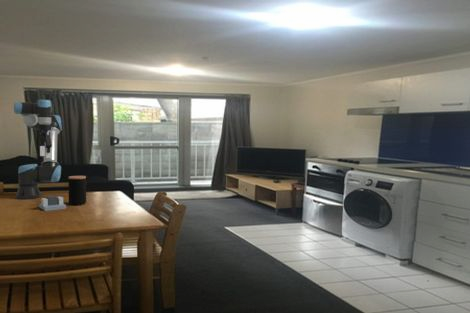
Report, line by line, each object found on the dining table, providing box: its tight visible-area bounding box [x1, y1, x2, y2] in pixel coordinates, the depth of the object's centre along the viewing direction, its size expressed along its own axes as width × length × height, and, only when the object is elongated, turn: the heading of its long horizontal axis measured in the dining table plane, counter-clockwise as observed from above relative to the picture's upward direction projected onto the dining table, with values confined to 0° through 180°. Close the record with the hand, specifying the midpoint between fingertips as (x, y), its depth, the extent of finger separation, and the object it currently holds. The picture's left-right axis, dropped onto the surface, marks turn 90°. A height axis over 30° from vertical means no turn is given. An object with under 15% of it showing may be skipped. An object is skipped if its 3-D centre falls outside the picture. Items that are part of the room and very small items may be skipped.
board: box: [38, 196, 67, 212], centre depth 230 cm, size 14×12×6 cm
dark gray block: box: [46, 195, 58, 206], centre depth 229 cm, size 4×5×5 cm
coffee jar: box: [68, 175, 87, 206], centre depth 242 cm, size 11×11×18 cm
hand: (45, 156), depth 240 cm, fingers open, 13 cm apart
